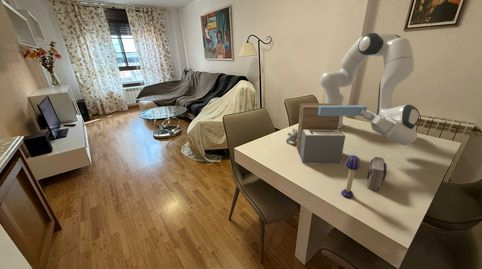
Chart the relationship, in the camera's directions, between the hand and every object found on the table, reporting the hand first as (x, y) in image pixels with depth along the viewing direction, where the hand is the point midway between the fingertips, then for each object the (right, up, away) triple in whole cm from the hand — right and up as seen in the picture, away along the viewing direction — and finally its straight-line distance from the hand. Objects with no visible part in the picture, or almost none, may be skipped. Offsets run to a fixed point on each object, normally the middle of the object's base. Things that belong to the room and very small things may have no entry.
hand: (358, 109), depth 90 cm
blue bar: (-7, -2, +2) cm, 8 cm away
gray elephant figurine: (-20, -16, +33) cm, 42 cm away
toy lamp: (-13, -35, -14) cm, 40 cm away
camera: (+2, -32, -7) cm, 33 cm away
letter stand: (-14, -24, +11) cm, 30 cm away
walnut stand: (-13, -21, +21) cm, 32 cm away
